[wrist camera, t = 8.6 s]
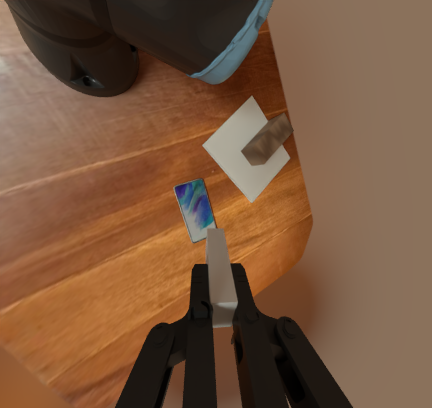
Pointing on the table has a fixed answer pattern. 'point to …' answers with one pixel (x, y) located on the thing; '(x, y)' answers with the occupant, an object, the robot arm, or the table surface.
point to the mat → (233, 144)
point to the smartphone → (195, 208)
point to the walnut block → (267, 140)
